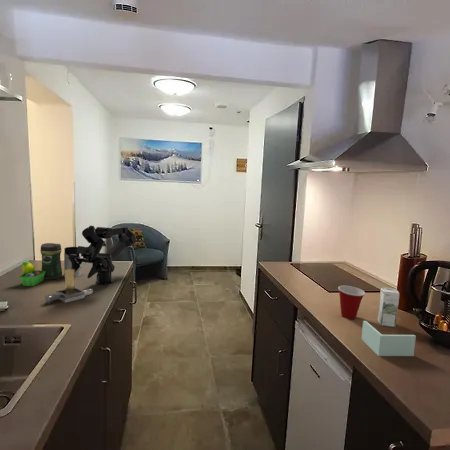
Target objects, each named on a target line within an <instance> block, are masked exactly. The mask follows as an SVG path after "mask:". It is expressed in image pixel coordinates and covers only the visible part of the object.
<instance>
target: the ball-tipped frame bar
mask: <svg viewBox="0 0 450 450" xmlns="http://www.w3.org/2000/svg"><path fill="white" fill-rule="evenodd" d="M92 294H94V289H93V288H87V289H85V290H82V289H81V288H78V287H75V293H73V294H69V295H65V288H64V289H61V290H57V291H55V293H52V294H47V295H45V296H44V302H45V303H44V304H45V305H52V304H53V301H55V300H59V301H61V302H63V303H70V302H74V301H78V300H82V299H85V296H88V295H92Z"/></svg>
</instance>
